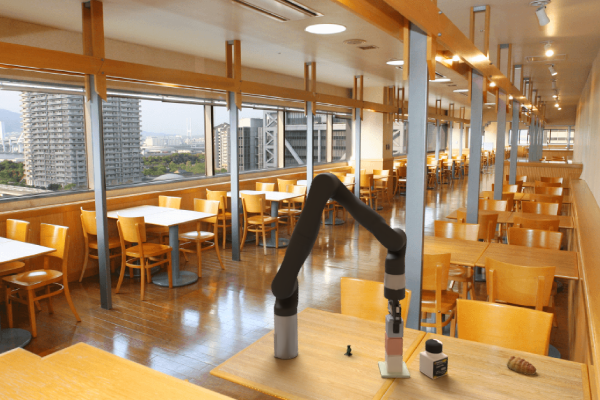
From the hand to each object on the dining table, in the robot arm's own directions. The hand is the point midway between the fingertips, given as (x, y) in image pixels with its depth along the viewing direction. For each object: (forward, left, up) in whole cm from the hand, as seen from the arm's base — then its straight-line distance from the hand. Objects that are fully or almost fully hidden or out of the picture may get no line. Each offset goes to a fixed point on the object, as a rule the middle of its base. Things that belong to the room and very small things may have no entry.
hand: (394, 328), depth 163 cm
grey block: (0, 0, -2) cm, 2 cm away
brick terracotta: (0, 0, -9) cm, 9 cm away
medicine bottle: (+14, -2, -16) cm, 22 cm away
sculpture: (-16, +12, -17) cm, 26 cm away
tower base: (0, 0, -16) cm, 16 cm away
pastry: (+46, +2, -17) cm, 49 cm away
